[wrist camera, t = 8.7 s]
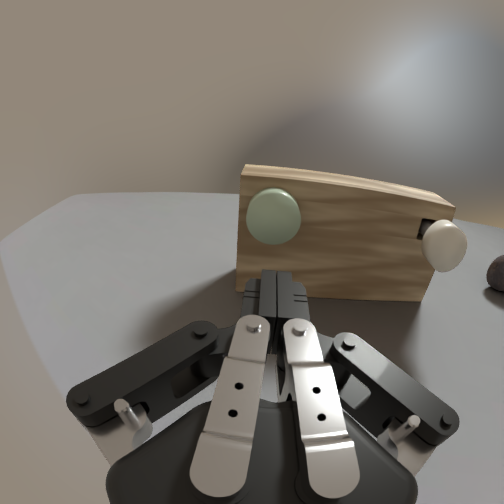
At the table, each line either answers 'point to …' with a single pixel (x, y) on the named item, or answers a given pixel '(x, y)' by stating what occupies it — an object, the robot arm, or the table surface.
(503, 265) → the perforated stone tool
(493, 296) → the table surface
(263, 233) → the button sage
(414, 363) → the table surface
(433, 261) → the button white
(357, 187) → the light wood rectangular block
